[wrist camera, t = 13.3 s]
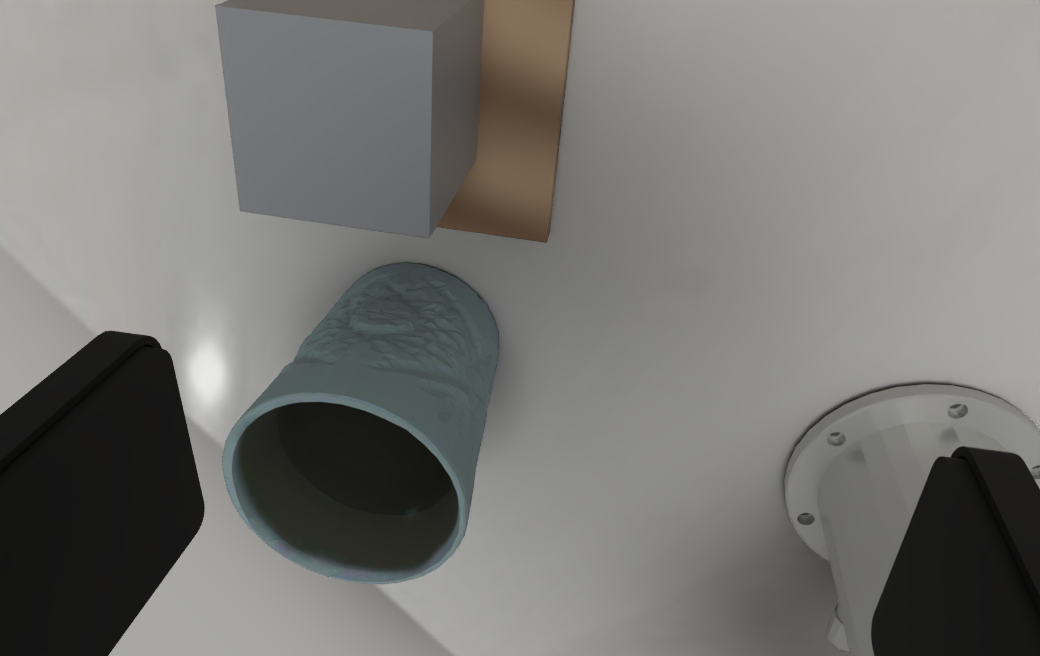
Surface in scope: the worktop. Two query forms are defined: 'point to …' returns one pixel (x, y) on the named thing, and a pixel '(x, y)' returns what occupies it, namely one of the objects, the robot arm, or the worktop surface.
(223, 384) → the worktop surface
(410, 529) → the teal textured cup
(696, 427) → the worktop surface
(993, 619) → the robot arm
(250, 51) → the matte grey cuboid
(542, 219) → the walnut pad
